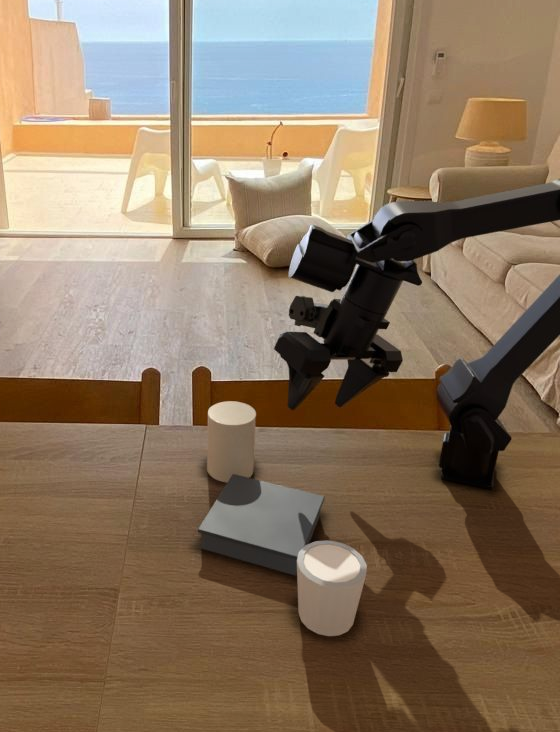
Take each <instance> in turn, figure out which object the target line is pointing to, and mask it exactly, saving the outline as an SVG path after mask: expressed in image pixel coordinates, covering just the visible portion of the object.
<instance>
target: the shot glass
mask: <svg viewBox="0 0 560 732" xmlns="http://www.w3.org/2000/svg"><path fill="white" fill-rule="evenodd" d="M367 566H368V565H367V563H366V560H365V559H364V557H363V555H362V554H360V553H359V551H357V550H356V549H355V548H354V547H351V546H349V545H347V544H345V543H343V542H340V541H339V542H338V541H334V540H316V541H313V542H311V543H310V542H309V544H308V545H305V546H304V547H303V548H302V549H301V550H300V551H299V553H298V558H297V575H296V577H297V578H296V579H297V581H296V582H297V603H298V604H297V607H298V616H299V618H300V621H301V623H302V624H303V625H304V626H305V628H307V629H308V630H310V631H312V632H313V633H316V634H317V635H320V636H325V637H337V636H341V635H343V634H345V633H348V632H349V631H350V629H351V628H352V627H353V625H354V622H355V619H356V614H357V611H358V607H359V605H360V604H359V603H360V600H361V595H362V592H363V588H364V584H365V581H366V577H367V569H368V567H367Z"/></svg>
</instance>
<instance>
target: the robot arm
mask: <svg viewBox="0 0 560 732" xmlns="http://www.w3.org/2000/svg"><path fill="white" fill-rule="evenodd" d="M557 221H560V178H557V179H554V180H552V181H549V182H546V183H542V184H536V185H532V186H526V187H520V188H516V189H511V190H506V191H501V192H495V193H490V194H485V195H481V196H476V197H470V198H465V199H461V200H456V201H429V200H403V201H402V200H401V201H392V202H389V203H386V204H384V205H383V206H381V207H380V208H379V210H378V211H377V212H376V214H375V216H374V218H373V219H372V220H370V221H368V222H367V223H365V224H363V225H362V226H360V227H359V228H357V229H355V230H353V231H352V232H350V233H348V234H347V235H346V237H344V236H342V235H338V234H335V233H333V232H329V231H327V230H326V229H324V228H323V227H321V226H318V225H315V224H310V226H309V228H308V230H307V233H305V234H304V236H303V237H302V239H301V241H300V242H299V244H298V243H297V245H296V247H295V249H294V251H293V254H292V258H291V261H290V264H289V268H288V278H290V279H292V280H296V281H298V282H301V283H304V284H307V285H310V286H312V287H315V288H318V289H321V290H324V291H327V292H329V293H334V292H335V291H336V290H337V291H341V290H343V288H345V287H346V289H345V290H344V293H343V295H342V297H341V298H333V299H331V301H329V303H328V304H326V303H321V302H320V303H319V302H314V298H313V297H310V296H305V295H295V296H294V297H293V299H292V301H291V303H290V305H289V308H288V318H289V319H291V320H292V321H293V320H294V324H293V325H294V326H296V327H301V326H303V327H308V328H312V329H314V331H313V332H312V333H313V334H314V335H316V336H317V337H318V338H321V339H323V341H322V342H320V341H318V340H317V339H315V338H314V337H313V336H312V335H310V334H309V332H307V331H285V332H281V333H280V334H279V335H278V338H277V340H276V342H275V344H274V346H273V350H274V351H275V352H276V353H278V354H279V356H280V358H281V359H282V360H284V361H285V362H286V364H287V367H288V390H287V402H286V403H287V404H286V405H287V407H288V409H290V410H291V411H295V410H296V409H297V408H299V406H300V405H301V404H302V403H303V402H304V401H305V400H306V399H307V398H308V396H309V395H310V394H311V393H312V392H313V390H315V388H316V387H317V386H318V385H319V384H320V383H321V381H322V380H323V379H324V378H325V374H323V372H325V371H326V370H327V369H329V367H330V364H331V362H332V361H333V360H340V361H342V360H343V361H344V360H345V361H347V369H346V371H345V374H344V376H343V379H342V381H341V383H340V386H339V389H338V390H337V393H336V397H335V400H334V405H335V406H337V407H338V408H343V407H344V406H345V405H347V404H348V403H350V402H351V401H352V400H354V399H355V398H356V397H357V396H359V395H360V394H362V393H363V392H364V391H366V390H367V389H369V388H371V387H372V386H374V385H375V384H377V383H378V382H380V381H381V380H382V379H384V378H388V377H389V376H390V373H398V371H399V368H400V367H401V365H402V363H403V361H404V359H403V354H402V351H401V350H400V349H399V348H397V347H396V346H395V345H394V344H392V343H391V342H389V341H388V340H386V339H385V338H384V337H382V336H380V335H379V334H378V332H379V330H387V329H388V328H389V326H390V323H391V322H390V321H389V320H388V319H386V316H387V314H388V312H389V310H390V308H391V306H392V304H393V302H394V300H395V298H396V296H397V294H398V292H399V290H400V288H401V286H402V284H403V282H406V283H409V284H412V285H415V286H419V287H420V286H421V285H422V284H423V280H422V279H421V277H420V274H419V272H418V263H417V262H416V261H415V260H417V259H420V258H422V257H425V256H428V255H432V254H434V253H436V252H438V251H440V250H442V249H444V248H445V247H447V246H448V245H450V244H451V243H454V242H457V241H460V240H463V239H467V238H473V237H478V236H483V235H488V234H493V233H498V232H503V231H509V230H514V229H519V228H520V229H521V228H525V227H530V226H537V225H541V224H545V223H551V222H557ZM559 337H560V273H559V274H558V275H557V276H556V278H555V279H554V280H553V281H551V283H550V284H549V285H548V286H547V287H546V289H544V291H542V293H540V294H539V296H538V297H537V298H536V299H535V300H534V301H533V302H532V303H531V304H530V305H529V306H528V308H527V309H526V310H524V312H523V313H522V314H521V316H519V318H517V320H516V321H514V323H513V324H512V325H511V326H510V327H509V328H508V329H507V330H506V332H505V333H504V334H503V335H502V336H501V337H500V338H499V339H498V340H497V341H496V342H495V343H494V345H493V346H491V348H490V349H489V350H488V351H487V352H485V354H484V355H483V356H481V357H479V358H477V359H475V360H472V361H470V362H467V361H466V360H465V359H464V358H463V357H459V358H457V360H455V362H454V363H453V365H452V367H451V368H450V369H449V370H448V371H447V372H446V373H445V374H443V375H441V376H440V377H438V379H439V381H440V383H439V385H438V387H437V388H436V390H435V391H436V392H435V394H436V400H437V403H438V405H439V407H440V408H441V410H442V413H444V415H445V417H446V419H447V421H448V423H449V425H450V428H449V432H445V433H443V434H444V435H443V439H442V445H441V450H440V456H439V463H438V467H439V468H440V469H441V472H440V478H441V479H442V480H444V481H445V480H446V481H448V482H449V481H450V482H454V483H458V484H463V485H466V486H467V485H468V486H473V487H477V488H482V489H487V490H493V488H494V483H495V481H494V480H495V471H496V466H497V463H498V462H497V461H498V456H499V452H503V451H505V450H506V449H507V447H508V445H509V444H510V442H511V441H512V436H511V434H510V433H509V432H508V430H507V429H506V427H505V426H504V424H503V423H502V422H501V420H500V419H499V417H500V416H501V415H502V413H503V411H504V410H505V409H506V407H507V404H508V402H509V398H510V395H511V392H512V389H513V386H514V384H515V383H516V381H517V380H518V379H519V378H520V377H521V376H522V375H523V374H524V373H525V372H526V371H527V370H528V369H529V368H530V367H531V366H532V365H533V364H534V362H535V361H537V360H538V358H540V356H542V354H544V352H545V351H546V350H547V349H548V348H549V347H550V346H551V345H552V344H553V343H554V342H555V341H556V340H557V339H558V338H559Z"/></svg>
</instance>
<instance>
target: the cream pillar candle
mask: <svg viewBox="0 0 560 732" xmlns="http://www.w3.org/2000/svg"><path fill="white" fill-rule="evenodd" d="M256 425H257V412H256V410H255V408H253V406H251V405H249V404H248V403H244V402H240V401H234V400H233V401H232V400H227V401H221V402H217V403H215V404H213V405H211V406H210V407H209V408H208V411H207V437H206V438H207V440H206V442H207V443H206V444H207V445H206V447H207V448H206V450H207V451H206V453H207V454H206V471H207V473H208V475H209V476H210V477H211V478H213V479H214V480H215V481H218V482H222V483H226V484H227V482H228V481H229V479H230V478H231V476H232V474H235V475H239V476H243V477H247V478H251V477H252V475H253V474H254V470H255V469H254V467H255V466H254V465H255V464H254V463H255V445H256V442H255V441H256Z"/></svg>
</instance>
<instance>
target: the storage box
mask: <svg viewBox="0 0 560 732" xmlns="http://www.w3.org/2000/svg"><path fill="white" fill-rule="evenodd" d="M325 498H326V497H325V495H322V494H317V493H314V492H309V491H305V490H301V489H296V488H292V487H289V486H284V485H280V484H276V483H272V482H267V481H263V480H260V479H255V478H251V477H250V478H247V477H243V476H239V475H235V474H232V476H231V478H230V479H229V481H228V482H227V483H226V484H225V485H224V487H223V489H222V490H221V492H220V494H219V495H218V497H217V498H216V500H215V501H214V503H213V505H212V506H211V508H210V509H209V510H208V512H207V514H206V516H205V517H204V519H203V520H202V522H201V523H200V525H199V527H198V528H197V533H198V534H201V535H200V549H201V550H204V551H208V552H212V553H216V554H219V555H223V556H226V557H229V558H232V559H236V560H239V561H244V562H247V563H250V564H253V565H257V566H260V567H264V568H267V569H271V570H275V571H277V572H281V573H284V574H288V575H292V576H295V577H297V558H298V553H299V551H300V550H301V549H302V548H303V547H304V546H305V545H308V544H310V542H311V539H312V537H313V535H314V532H315V530H316V528H317V525H318V522H319V519H320V517H321V510H322V509H321V508H322V506H323V503H324V501H325Z"/></svg>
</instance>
